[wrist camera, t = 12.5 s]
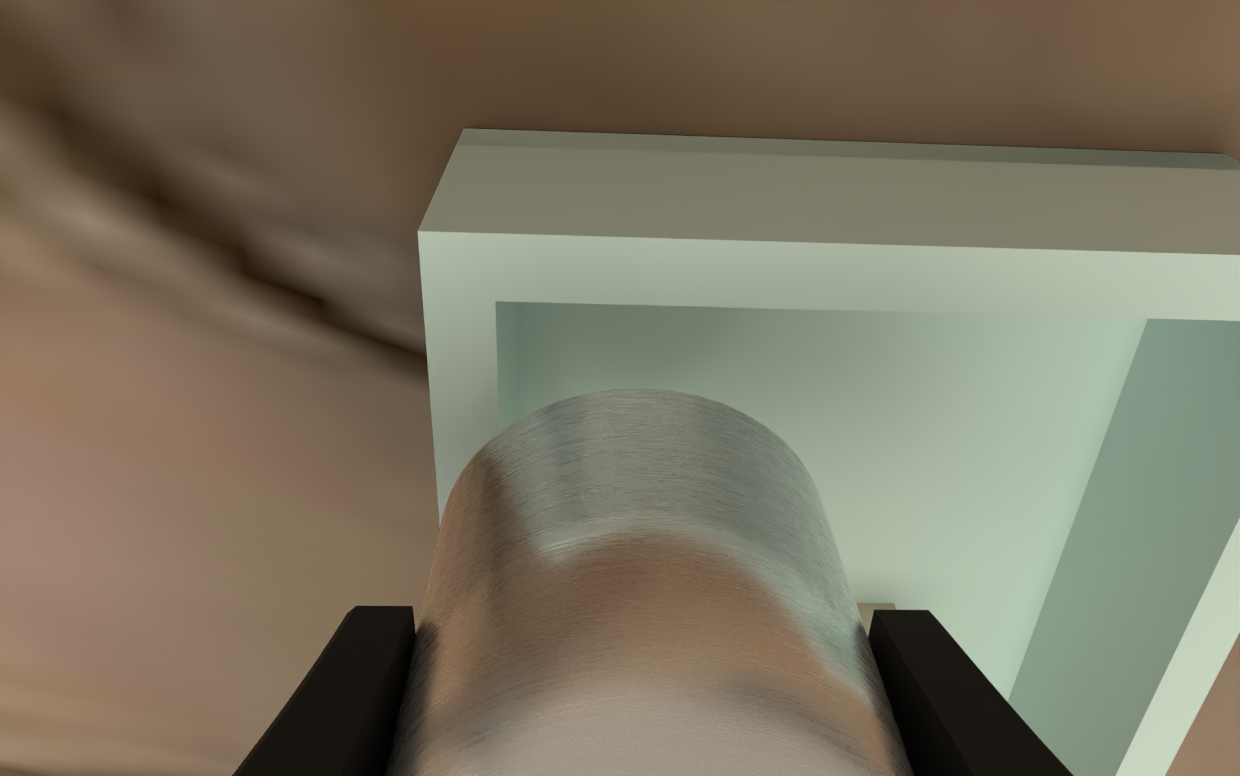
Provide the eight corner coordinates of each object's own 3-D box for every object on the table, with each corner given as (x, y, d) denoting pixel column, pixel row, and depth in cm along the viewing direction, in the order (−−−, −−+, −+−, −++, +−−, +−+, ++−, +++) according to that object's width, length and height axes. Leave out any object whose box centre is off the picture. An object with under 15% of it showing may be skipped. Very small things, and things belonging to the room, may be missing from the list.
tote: (989, 780, 26) (1065, 964, 22) (493, 777, 26) (473, 966, 22) (1225, 154, 17) (1434, 261, 13) (463, 128, 17) (417, 231, 12)
